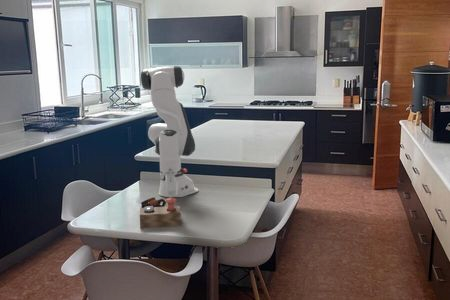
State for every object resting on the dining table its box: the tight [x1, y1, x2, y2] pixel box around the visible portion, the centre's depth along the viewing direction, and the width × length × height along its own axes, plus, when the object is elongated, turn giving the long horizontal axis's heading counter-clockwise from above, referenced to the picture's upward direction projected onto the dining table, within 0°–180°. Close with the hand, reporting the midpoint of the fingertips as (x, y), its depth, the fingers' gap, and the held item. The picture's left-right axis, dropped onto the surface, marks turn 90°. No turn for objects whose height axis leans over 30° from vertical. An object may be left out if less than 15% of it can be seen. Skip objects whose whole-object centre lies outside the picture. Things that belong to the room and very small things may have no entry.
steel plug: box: [144, 206, 154, 212], centre depth 210 cm, size 5×5×7 cm
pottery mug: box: [140, 197, 167, 208], centre depth 227 cm, size 12×10×8 cm
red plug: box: [165, 197, 177, 211], centre depth 211 cm, size 5×5×7 cm
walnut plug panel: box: [139, 205, 182, 229], centre depth 211 cm, size 18×10×6 cm, turn 98°
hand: (170, 196), depth 210 cm, fingers closed
